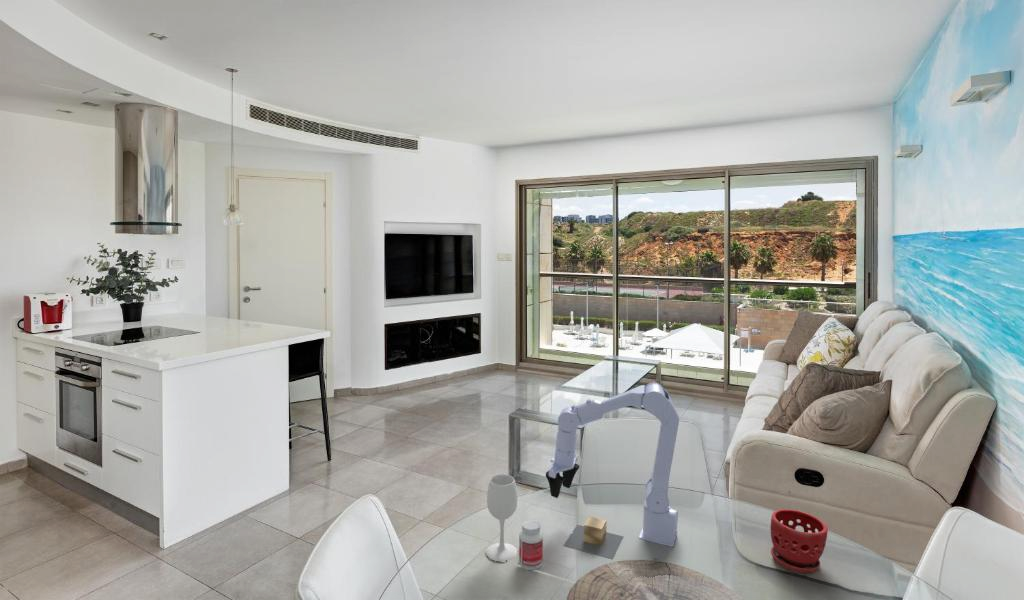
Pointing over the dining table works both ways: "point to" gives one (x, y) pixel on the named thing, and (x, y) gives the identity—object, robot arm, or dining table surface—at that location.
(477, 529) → the dining table surface
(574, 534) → the mat
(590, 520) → the oak block
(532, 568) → the pill bottle
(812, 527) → the plant pot
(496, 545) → the wineglass
